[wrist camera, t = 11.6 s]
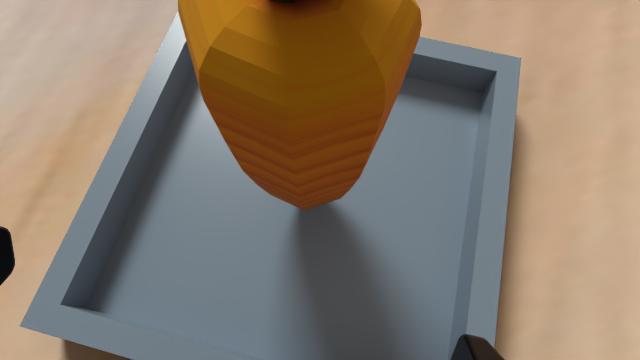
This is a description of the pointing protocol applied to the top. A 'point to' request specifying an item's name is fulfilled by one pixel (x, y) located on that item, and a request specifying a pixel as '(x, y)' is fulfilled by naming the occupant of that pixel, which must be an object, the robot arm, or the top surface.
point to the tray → (292, 230)
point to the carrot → (301, 85)
